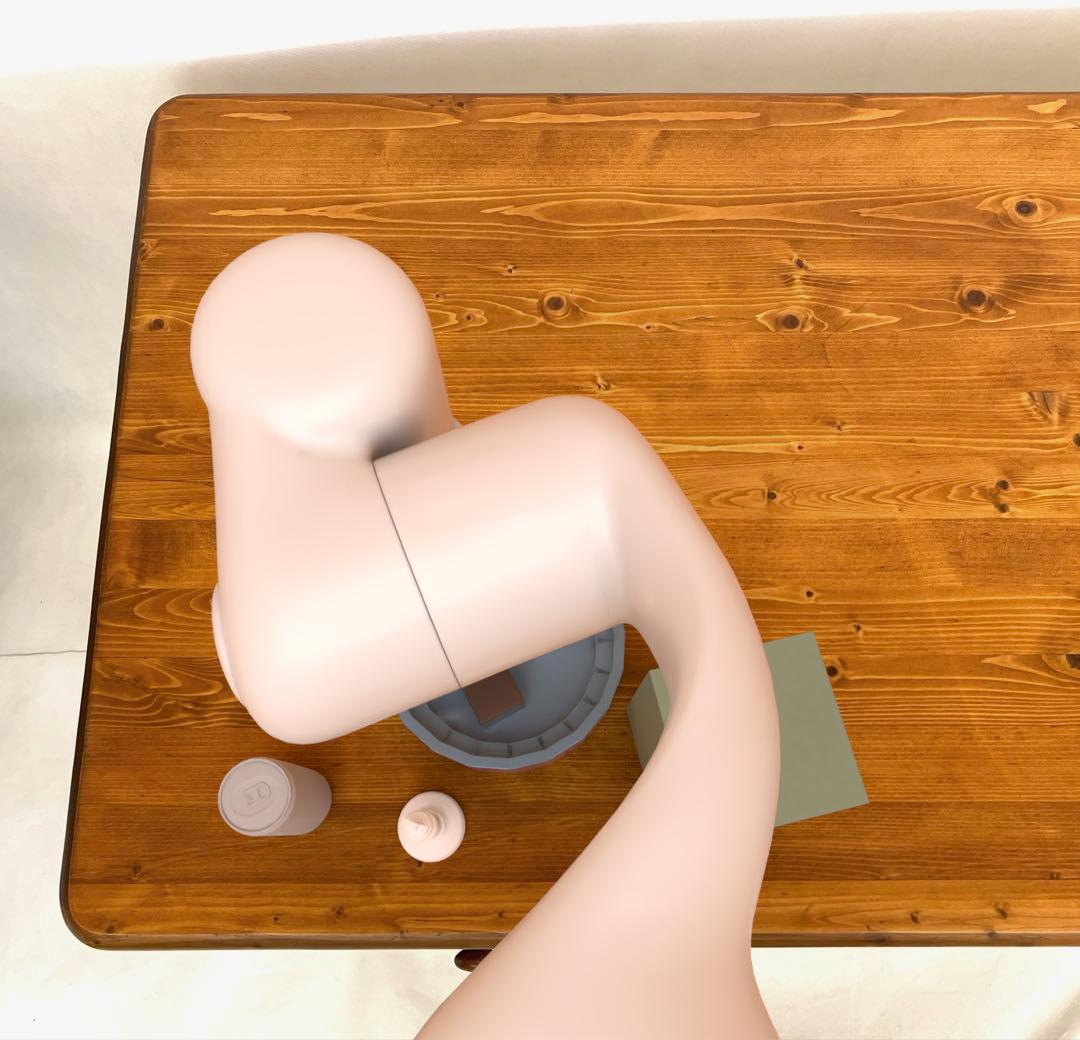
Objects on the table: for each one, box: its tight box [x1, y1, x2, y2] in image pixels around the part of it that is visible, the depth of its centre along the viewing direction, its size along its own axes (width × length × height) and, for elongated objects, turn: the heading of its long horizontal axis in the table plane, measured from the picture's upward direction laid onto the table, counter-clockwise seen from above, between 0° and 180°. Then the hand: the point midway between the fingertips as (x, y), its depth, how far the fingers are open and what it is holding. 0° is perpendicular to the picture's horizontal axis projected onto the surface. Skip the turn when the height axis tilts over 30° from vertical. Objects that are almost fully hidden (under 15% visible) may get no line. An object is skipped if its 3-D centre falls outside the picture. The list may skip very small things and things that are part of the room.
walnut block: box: [461, 669, 526, 729], centre depth 72 cm, size 4×4×4 cm
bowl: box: [397, 623, 626, 775], centre depth 73 cm, size 18×18×6 cm
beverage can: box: [217, 756, 333, 837], centre depth 66 cm, size 5×5×12 cm
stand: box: [625, 630, 870, 828], centre depth 64 cm, size 10×10×18 cm
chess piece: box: [397, 790, 466, 863], centre depth 67 cm, size 5×5×10 cm
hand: (423, 571), depth 58 cm, fingers closed on stirring stick, 2 cm apart
